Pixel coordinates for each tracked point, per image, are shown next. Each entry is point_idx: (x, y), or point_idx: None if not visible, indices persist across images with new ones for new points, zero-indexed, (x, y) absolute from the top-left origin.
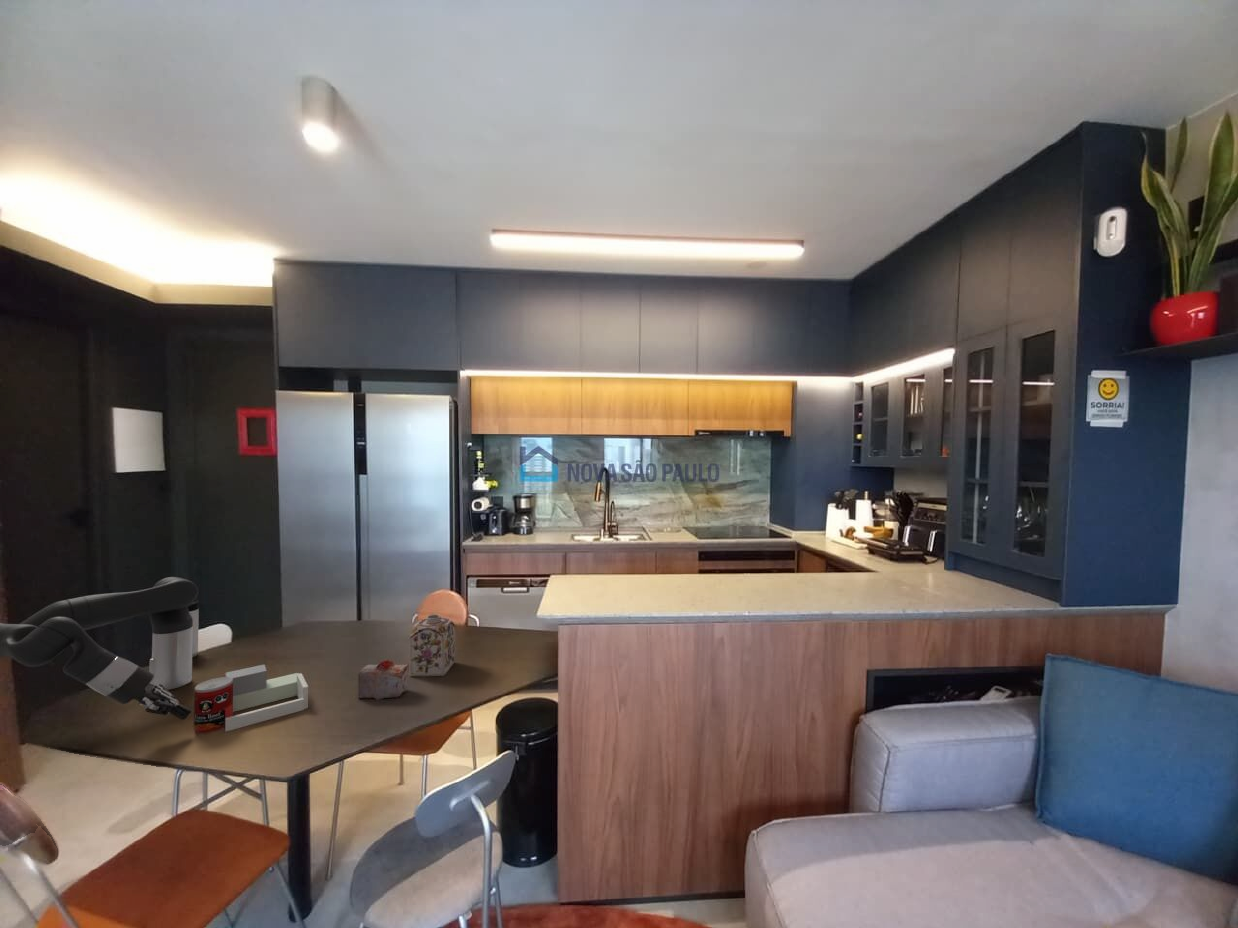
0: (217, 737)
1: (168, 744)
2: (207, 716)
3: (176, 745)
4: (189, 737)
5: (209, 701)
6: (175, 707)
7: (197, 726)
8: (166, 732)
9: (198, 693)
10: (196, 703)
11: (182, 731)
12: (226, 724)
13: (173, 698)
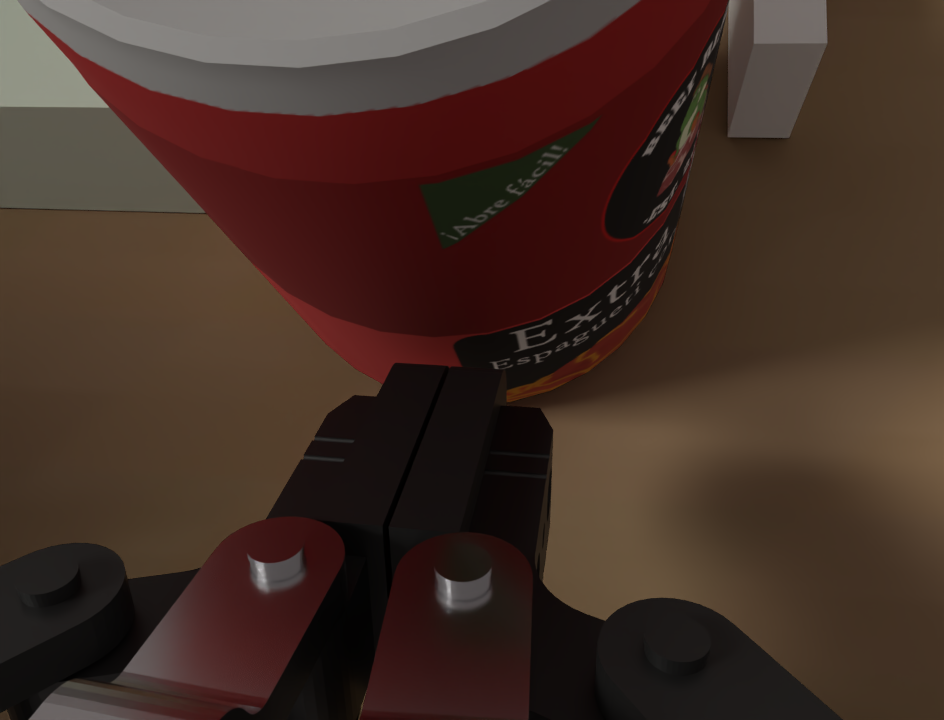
0: (904, 214)
1: None
2: (679, 198)
3: (802, 613)
4: (651, 469)
5: (725, 14)
6: (549, 598)
7: (584, 361)
8: None
9: (599, 54)
10: (548, 229)
11: None
12: (806, 79)
13: (182, 620)
